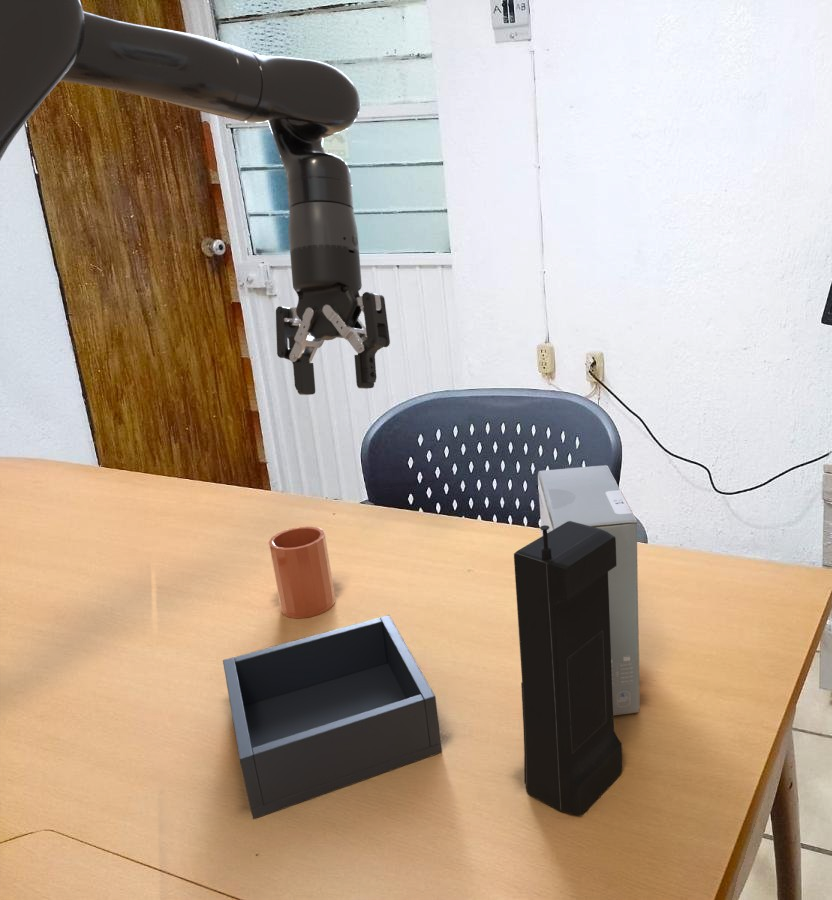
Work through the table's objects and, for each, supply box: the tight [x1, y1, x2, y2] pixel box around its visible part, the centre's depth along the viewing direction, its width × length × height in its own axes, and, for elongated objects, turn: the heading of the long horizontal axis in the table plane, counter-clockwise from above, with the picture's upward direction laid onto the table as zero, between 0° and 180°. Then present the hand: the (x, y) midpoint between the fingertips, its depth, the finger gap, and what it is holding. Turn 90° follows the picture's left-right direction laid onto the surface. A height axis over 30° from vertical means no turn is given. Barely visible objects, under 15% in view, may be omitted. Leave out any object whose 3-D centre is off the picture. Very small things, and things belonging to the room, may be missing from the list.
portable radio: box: [513, 521, 623, 816], centre depth 66 cm, size 8×6×25 cm
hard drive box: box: [537, 465, 641, 717], centre depth 82 cm, size 16×8×20 cm, turn 9°
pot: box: [268, 526, 336, 619], centre depth 99 cm, size 6×6×9 cm
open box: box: [222, 614, 443, 820], centre depth 77 cm, size 16×16×6 cm
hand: (335, 391), depth 95 cm, fingers open, 8 cm apart
